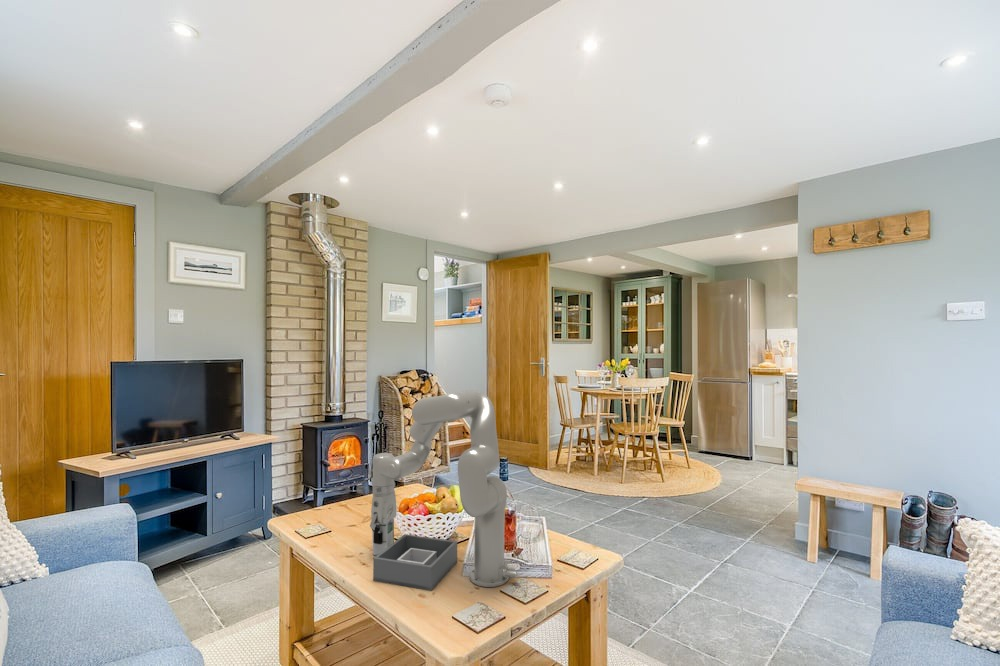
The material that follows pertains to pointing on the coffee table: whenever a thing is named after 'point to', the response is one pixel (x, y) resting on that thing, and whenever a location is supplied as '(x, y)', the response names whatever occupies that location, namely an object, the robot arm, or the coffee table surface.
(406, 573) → the walled box
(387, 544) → the syrup box
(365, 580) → the coffee table surface
